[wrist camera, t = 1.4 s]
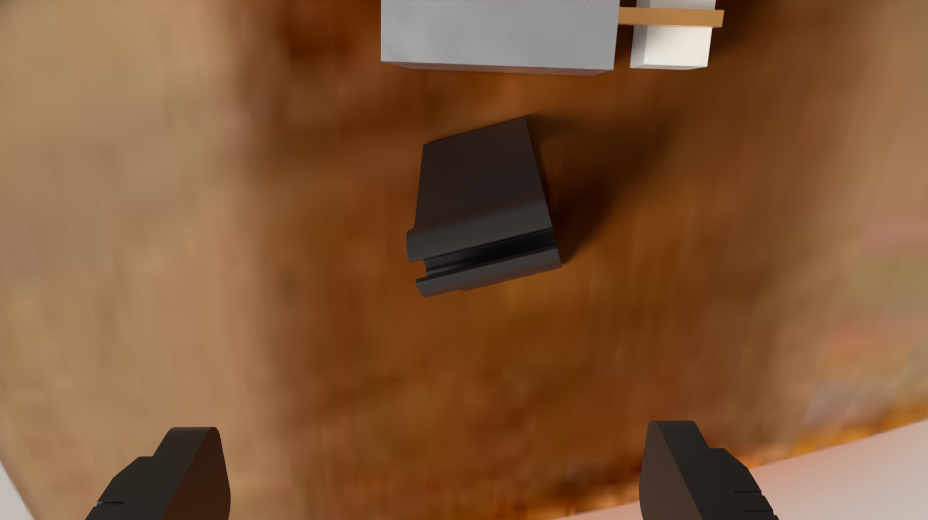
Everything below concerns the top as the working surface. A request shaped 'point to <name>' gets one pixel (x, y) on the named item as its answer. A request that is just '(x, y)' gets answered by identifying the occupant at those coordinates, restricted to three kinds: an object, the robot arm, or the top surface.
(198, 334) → the top surface
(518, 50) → the block and dowel assembly
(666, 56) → the panel and block assembly
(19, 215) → the top surface
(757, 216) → the top surface
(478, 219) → the phone stand
